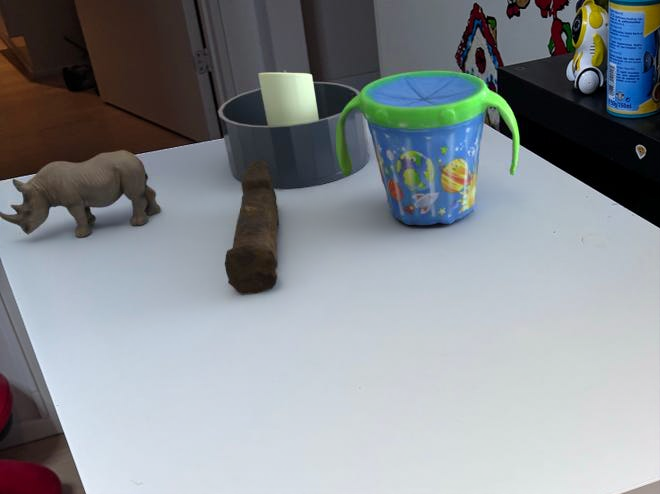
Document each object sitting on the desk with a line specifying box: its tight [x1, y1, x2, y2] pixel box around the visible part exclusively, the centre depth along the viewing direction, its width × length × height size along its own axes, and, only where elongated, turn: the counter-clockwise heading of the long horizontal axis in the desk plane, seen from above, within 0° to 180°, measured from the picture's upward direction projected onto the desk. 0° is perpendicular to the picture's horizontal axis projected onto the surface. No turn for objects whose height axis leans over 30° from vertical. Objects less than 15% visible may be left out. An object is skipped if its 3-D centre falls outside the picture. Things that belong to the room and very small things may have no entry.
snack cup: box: [336, 70, 520, 226], centre depth 87 cm, size 16×10×10 cm
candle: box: [257, 69, 319, 126], centre depth 99 cm, size 5×5×8 cm
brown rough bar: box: [224, 160, 280, 295], centre depth 86 cm, size 19×4×5 cm, turn 3°
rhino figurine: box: [0, 149, 162, 238], centre depth 90 cm, size 4×14×6 cm, turn 114°
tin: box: [217, 81, 370, 190], centre depth 100 cm, size 14×14×6 cm
